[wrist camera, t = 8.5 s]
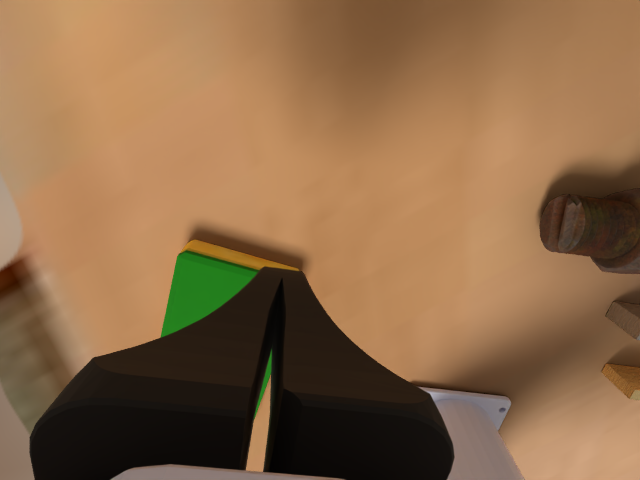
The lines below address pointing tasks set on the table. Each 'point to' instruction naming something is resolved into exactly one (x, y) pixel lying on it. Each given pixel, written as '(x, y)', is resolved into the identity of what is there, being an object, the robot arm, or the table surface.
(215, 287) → the dish sponge
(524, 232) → the table surface
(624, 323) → the grey u-shaped bracket
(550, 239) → the bolt
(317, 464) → the robot arm
